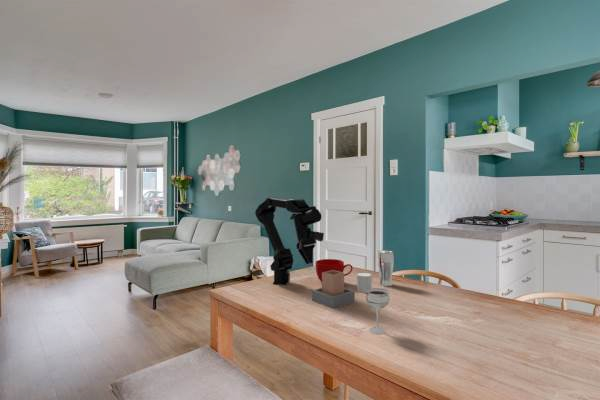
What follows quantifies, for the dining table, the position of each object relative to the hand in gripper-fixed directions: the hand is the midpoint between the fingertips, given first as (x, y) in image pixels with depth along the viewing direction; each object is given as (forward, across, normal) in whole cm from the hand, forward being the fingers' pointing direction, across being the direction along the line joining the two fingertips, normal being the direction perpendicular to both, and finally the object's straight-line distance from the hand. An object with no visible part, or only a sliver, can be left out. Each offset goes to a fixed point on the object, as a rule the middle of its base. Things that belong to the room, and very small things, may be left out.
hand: (309, 263), depth 139 cm
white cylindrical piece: (+16, +2, -21) cm, 26 cm away
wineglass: (+24, -37, -11) cm, 45 cm away
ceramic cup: (+11, +14, -11) cm, 21 cm away
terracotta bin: (+15, -9, -5) cm, 18 cm away
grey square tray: (+16, -9, -5) cm, 19 cm away
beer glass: (+16, +8, -33) cm, 38 cm away
